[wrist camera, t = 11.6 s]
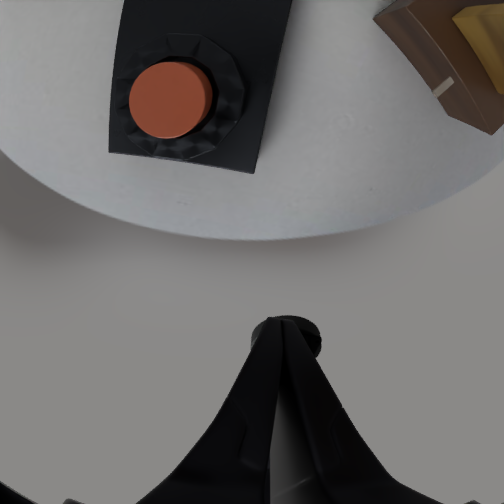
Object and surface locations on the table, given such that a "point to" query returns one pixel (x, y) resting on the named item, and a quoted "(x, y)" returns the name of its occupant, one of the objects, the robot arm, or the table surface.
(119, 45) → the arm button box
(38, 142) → the table surface
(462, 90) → the brown box with slot
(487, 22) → the block
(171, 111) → the arm button
